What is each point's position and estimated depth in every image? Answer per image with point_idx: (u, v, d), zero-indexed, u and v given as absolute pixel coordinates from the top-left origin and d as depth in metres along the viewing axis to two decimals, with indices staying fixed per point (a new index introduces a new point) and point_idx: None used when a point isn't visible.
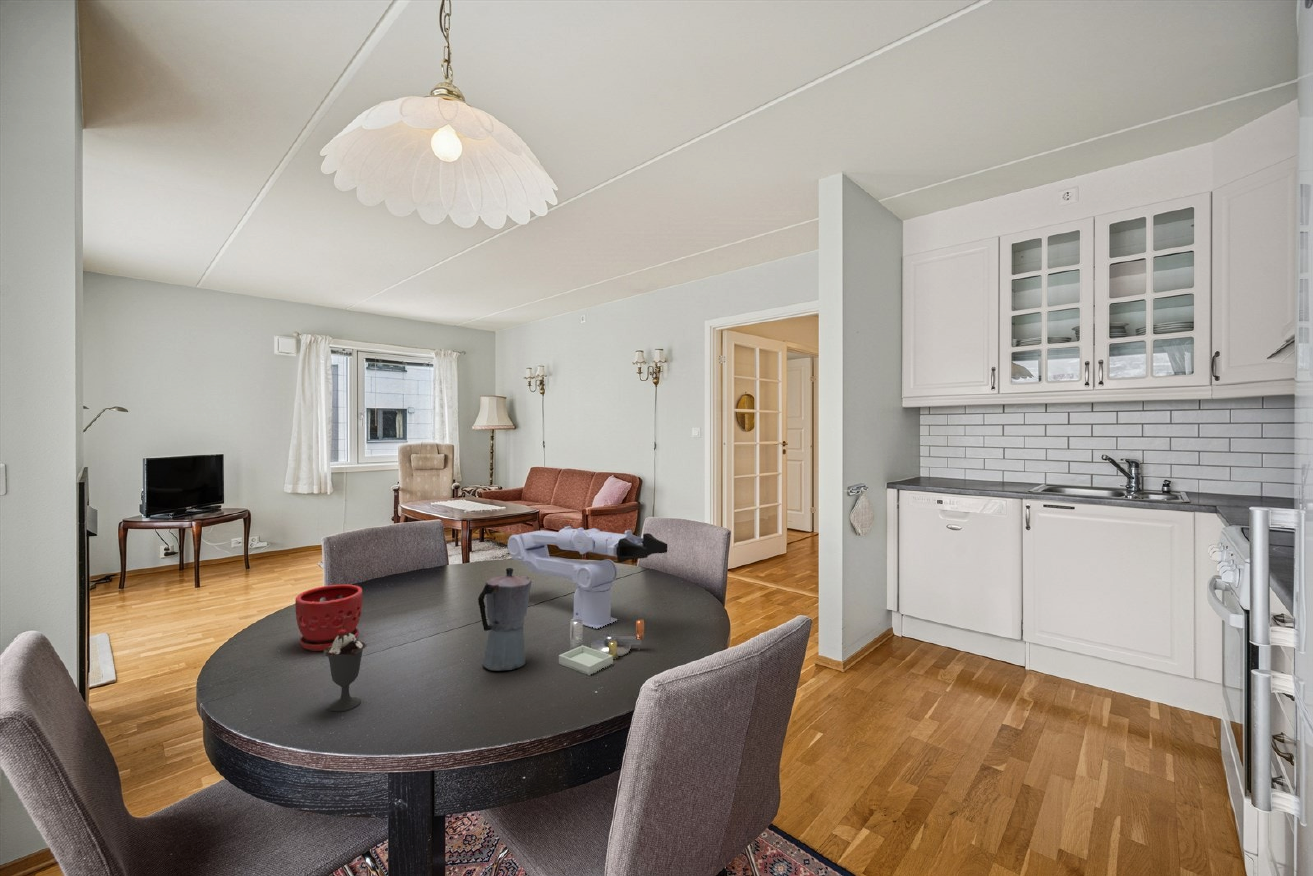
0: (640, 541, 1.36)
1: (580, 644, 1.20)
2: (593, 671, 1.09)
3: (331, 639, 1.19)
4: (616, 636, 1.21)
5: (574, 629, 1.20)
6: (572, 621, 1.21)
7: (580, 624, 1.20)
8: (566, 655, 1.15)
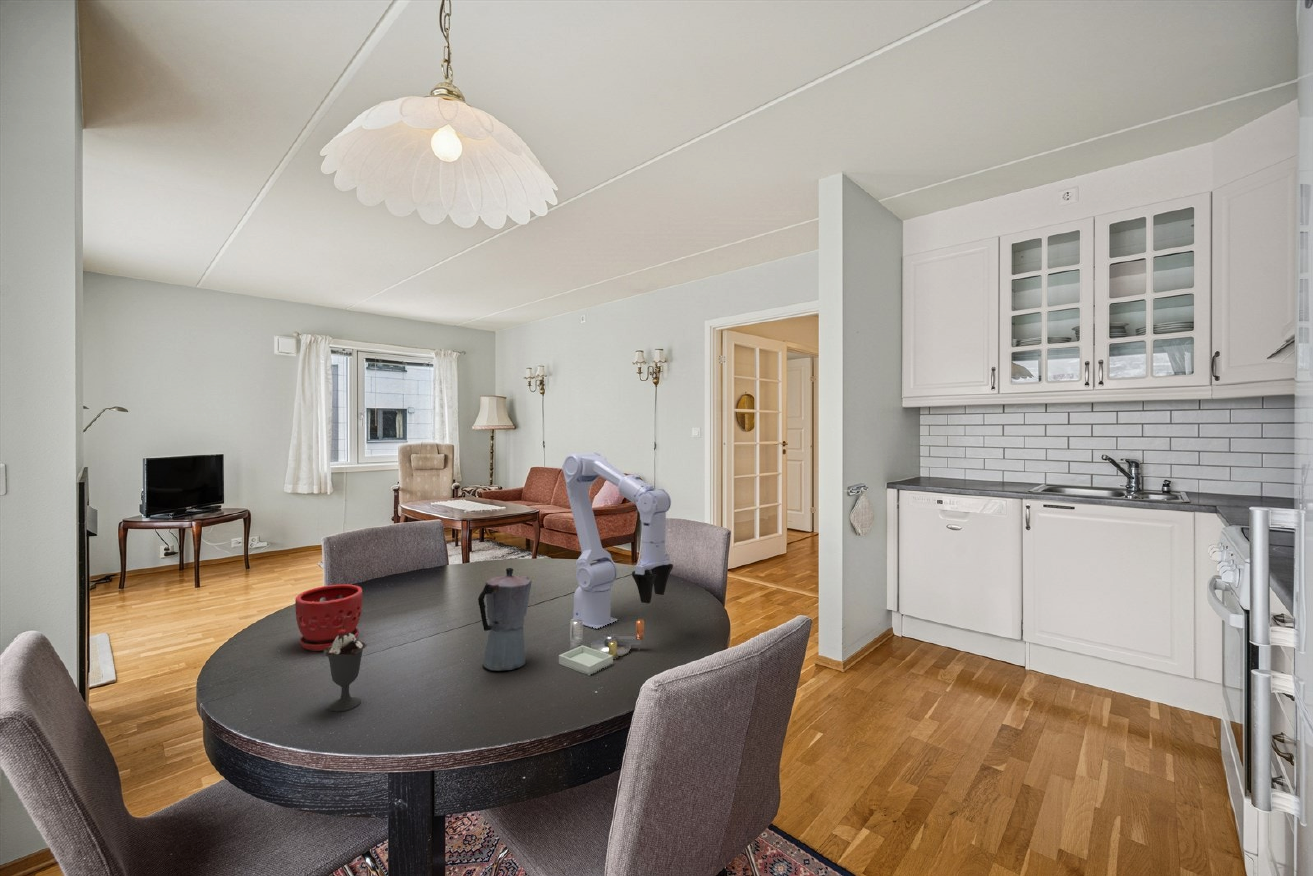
0: None
1: (580, 644, 1.20)
2: (593, 671, 1.09)
3: (331, 639, 1.19)
4: (616, 636, 1.21)
5: (574, 629, 1.20)
6: (572, 621, 1.21)
7: (580, 624, 1.20)
8: (566, 655, 1.15)
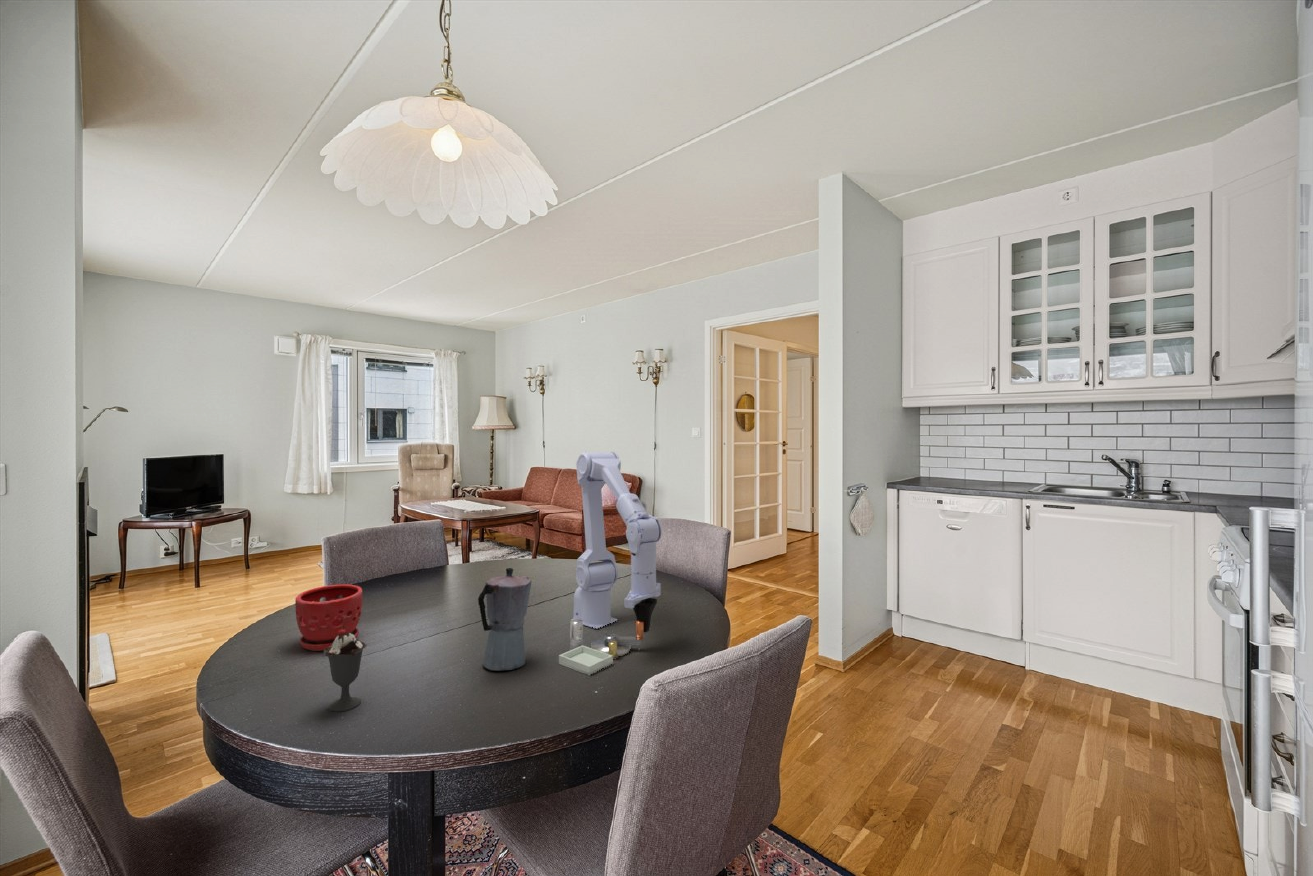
0: None
1: (580, 644, 1.20)
2: (593, 671, 1.09)
3: (331, 639, 1.19)
4: (616, 636, 1.21)
5: (574, 629, 1.20)
6: (572, 621, 1.21)
7: (580, 624, 1.20)
8: (566, 655, 1.15)
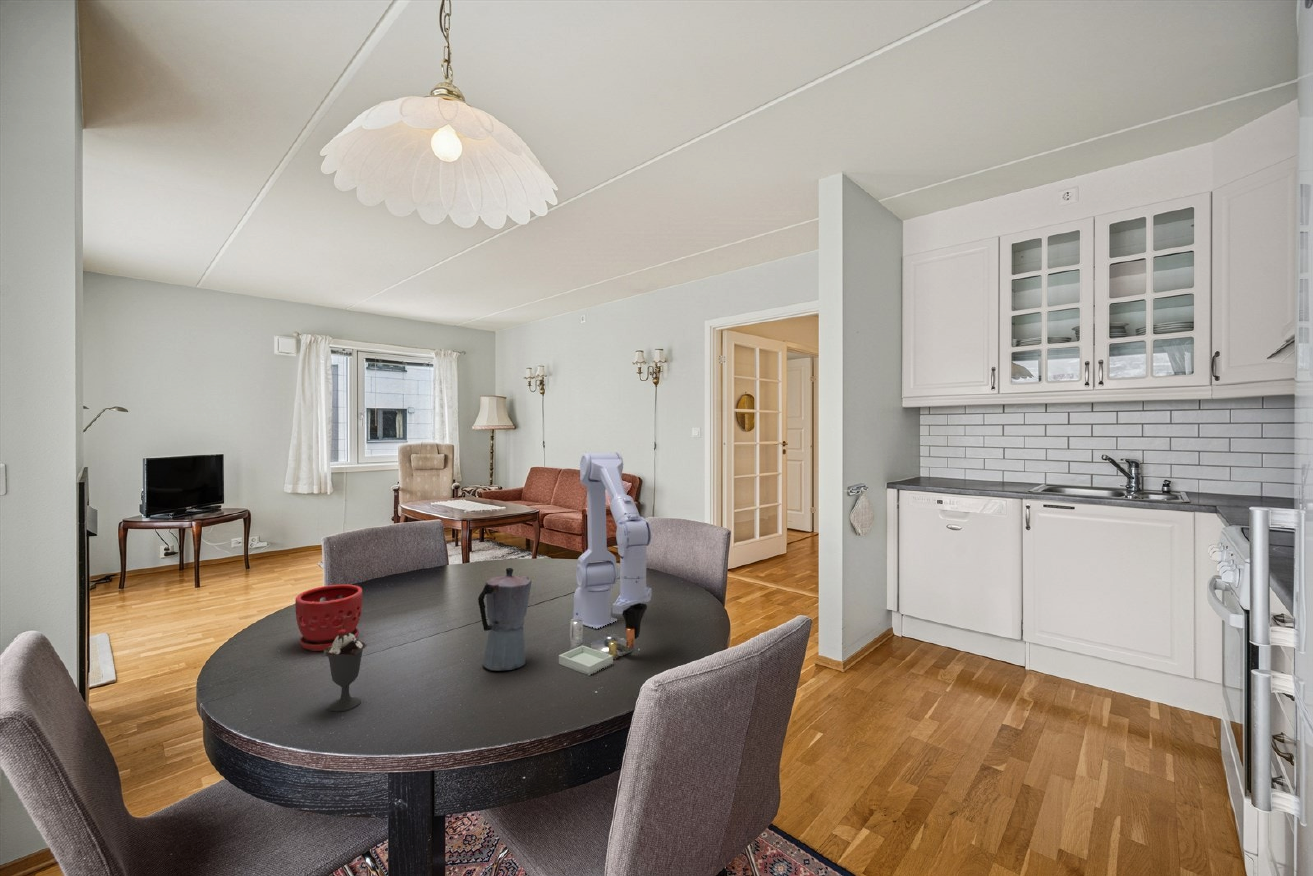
0: None
1: (580, 644, 1.20)
2: (593, 671, 1.09)
3: (331, 639, 1.19)
4: (613, 637, 1.20)
5: (574, 629, 1.20)
6: (572, 621, 1.21)
7: (580, 624, 1.20)
8: (566, 655, 1.15)
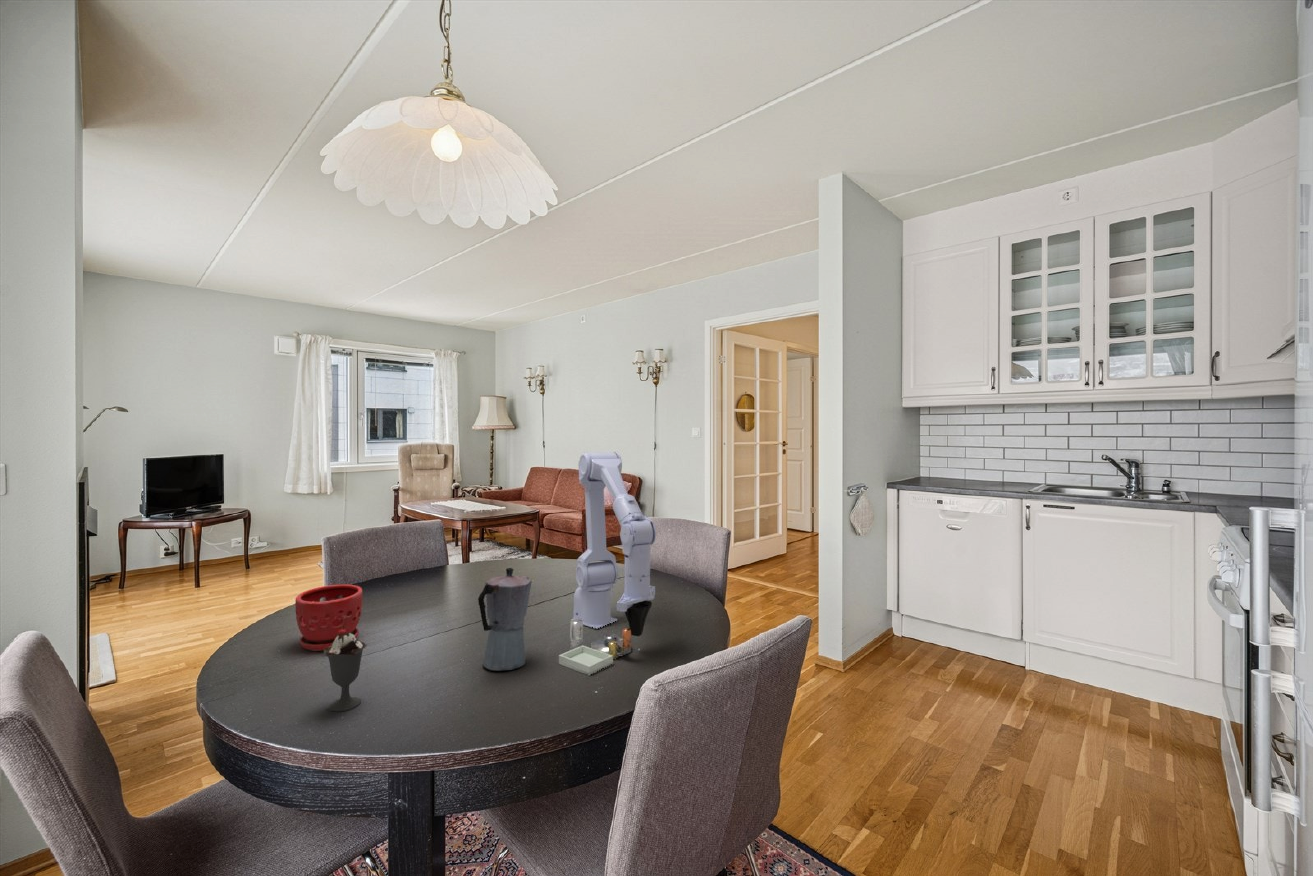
0: None
1: (580, 644, 1.20)
2: (593, 671, 1.09)
3: (331, 639, 1.19)
4: (612, 638, 1.20)
5: (574, 629, 1.20)
6: (572, 621, 1.21)
7: (580, 624, 1.20)
8: (566, 655, 1.15)
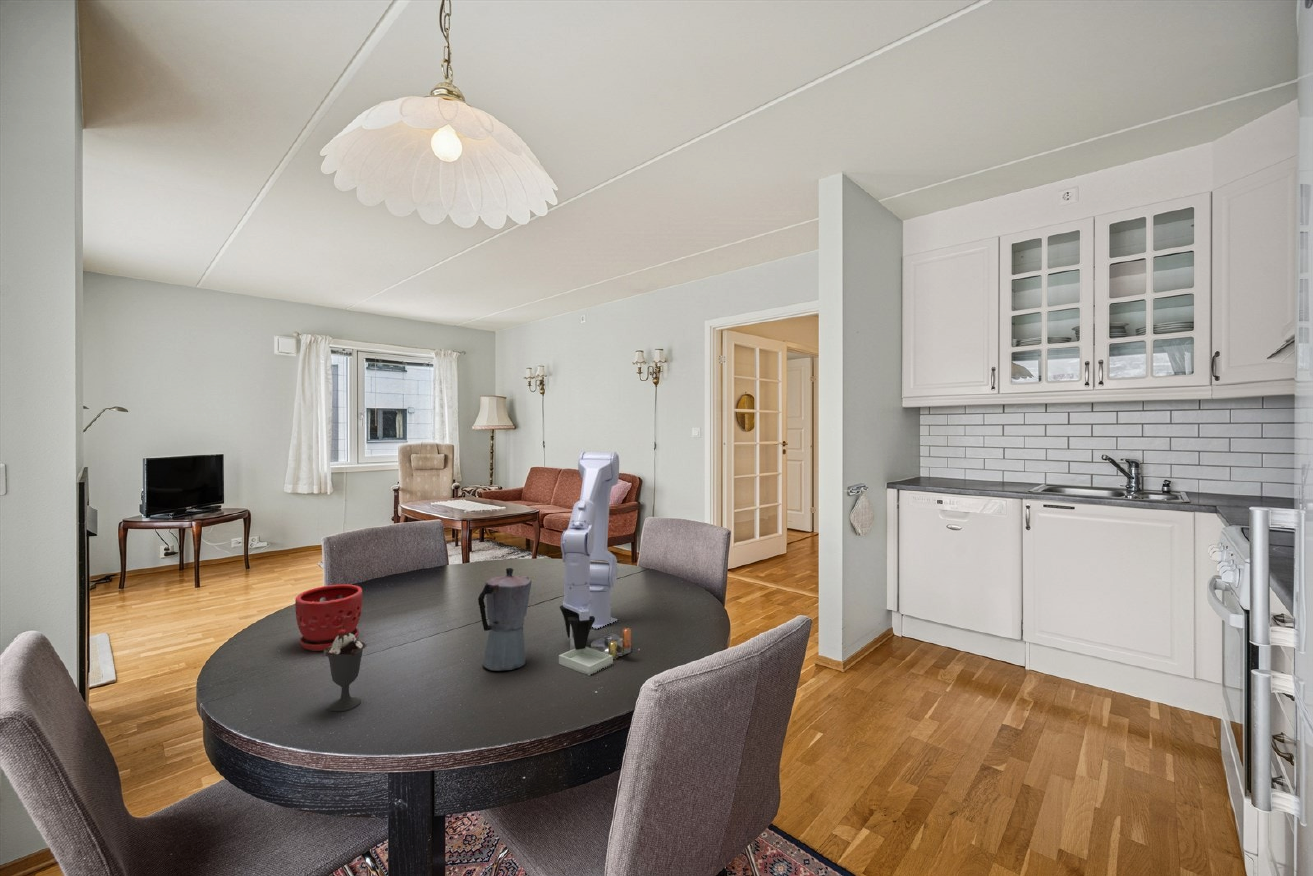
0: None
1: None
2: (593, 671, 1.09)
3: (331, 639, 1.19)
4: (612, 637, 1.20)
5: None
6: None
7: None
8: (566, 655, 1.15)
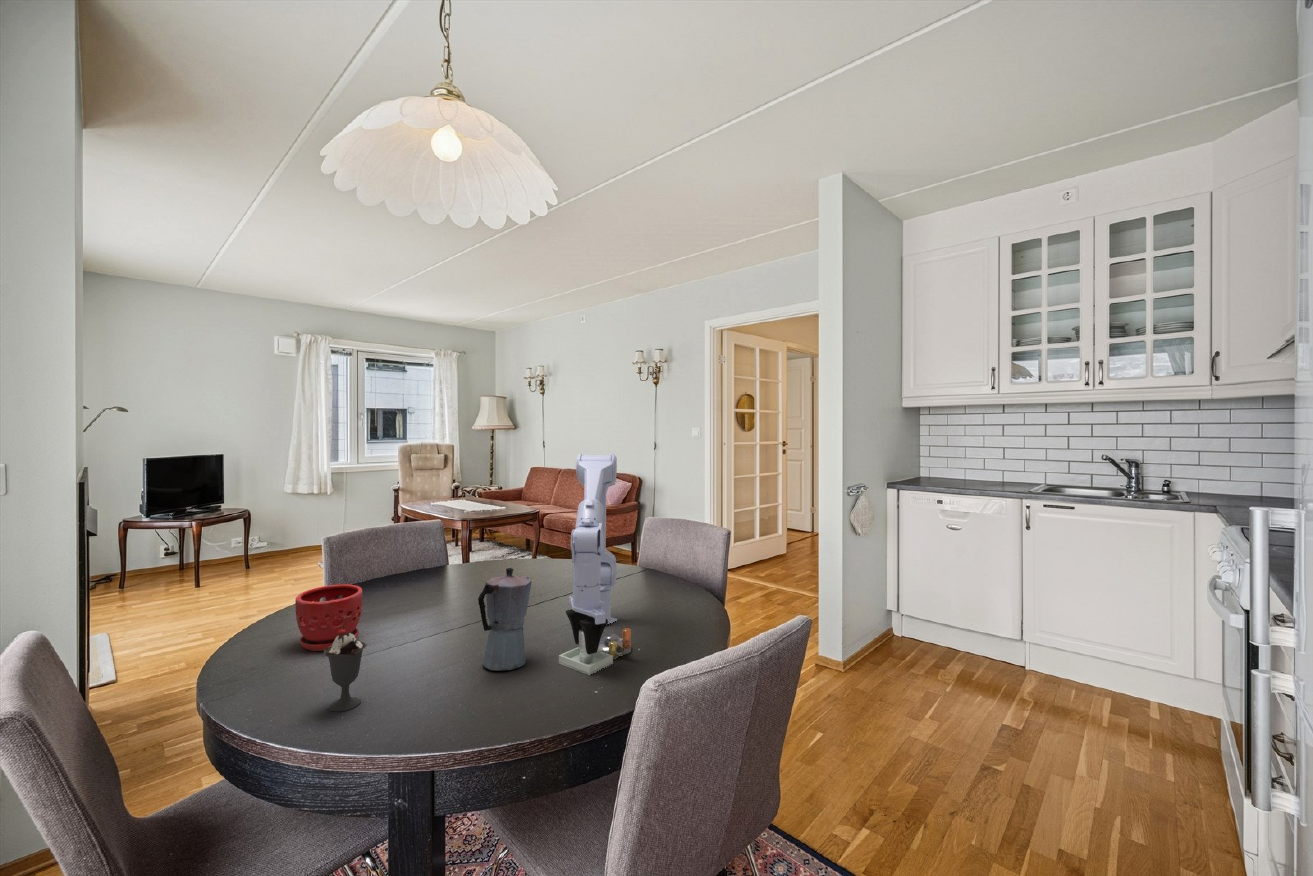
0: None
1: (591, 655, 1.13)
2: (593, 671, 1.09)
3: (331, 639, 1.19)
4: (612, 637, 1.20)
5: (584, 640, 1.12)
6: (581, 631, 1.13)
7: None
8: (566, 655, 1.15)
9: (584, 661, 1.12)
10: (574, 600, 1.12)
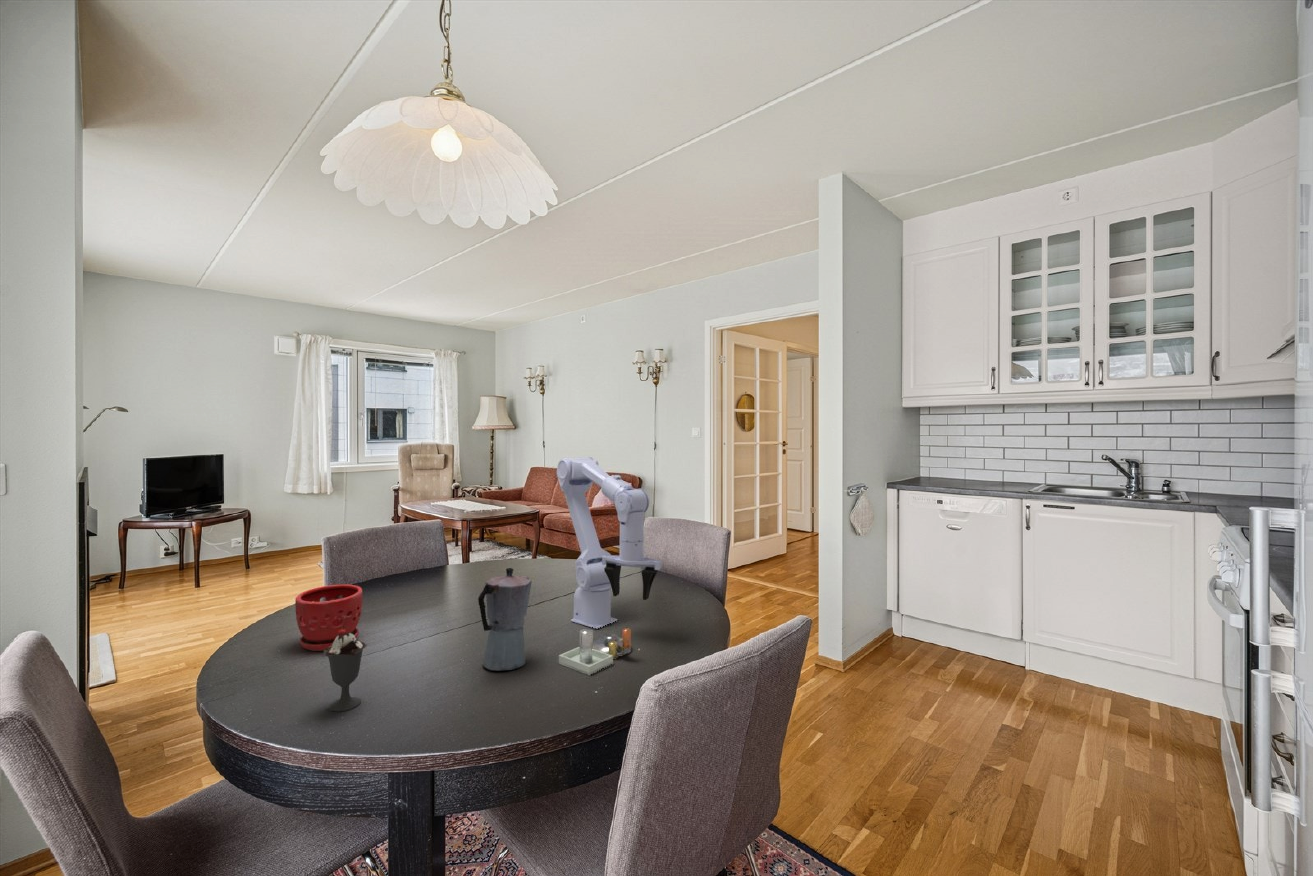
0: None
1: (591, 655, 1.13)
2: (593, 671, 1.09)
3: (331, 639, 1.19)
4: (612, 637, 1.20)
5: (585, 640, 1.12)
6: (582, 631, 1.13)
7: (591, 634, 1.13)
8: (566, 655, 1.15)
9: (584, 661, 1.12)
10: (627, 555, 1.26)
